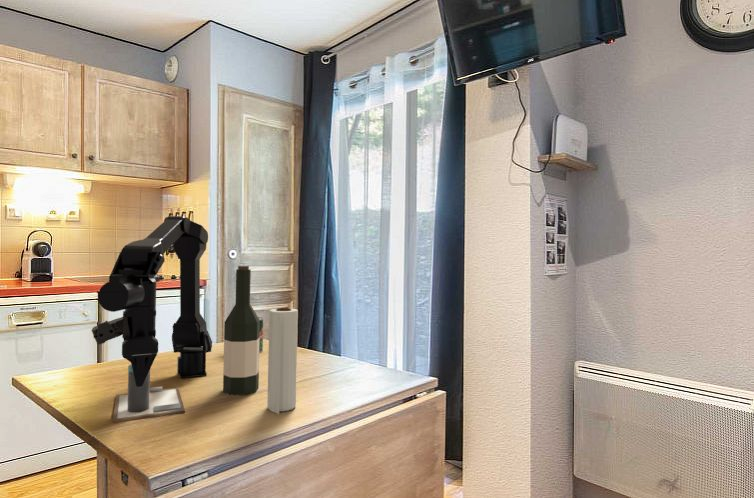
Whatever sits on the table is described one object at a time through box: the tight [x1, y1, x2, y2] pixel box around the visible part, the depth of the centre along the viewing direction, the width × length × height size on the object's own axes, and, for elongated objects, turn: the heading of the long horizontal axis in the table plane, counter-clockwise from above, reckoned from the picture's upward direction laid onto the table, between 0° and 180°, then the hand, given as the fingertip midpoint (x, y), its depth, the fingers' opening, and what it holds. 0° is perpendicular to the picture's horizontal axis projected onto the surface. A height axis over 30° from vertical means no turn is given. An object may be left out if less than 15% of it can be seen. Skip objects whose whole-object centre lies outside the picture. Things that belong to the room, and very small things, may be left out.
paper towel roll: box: [266, 307, 299, 416], centre depth 100 cm, size 7×6×21 cm
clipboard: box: [112, 385, 186, 423], centre depth 100 cm, size 13×17×1 cm
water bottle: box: [127, 363, 151, 412], centre depth 96 cm, size 4×4×10 cm
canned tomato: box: [258, 316, 264, 354], centre depth 152 cm, size 8×8×11 cm
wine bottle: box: [222, 265, 260, 396], centre depth 111 cm, size 8×8×30 cm
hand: (139, 380), depth 96 cm, fingers open, 9 cm apart
